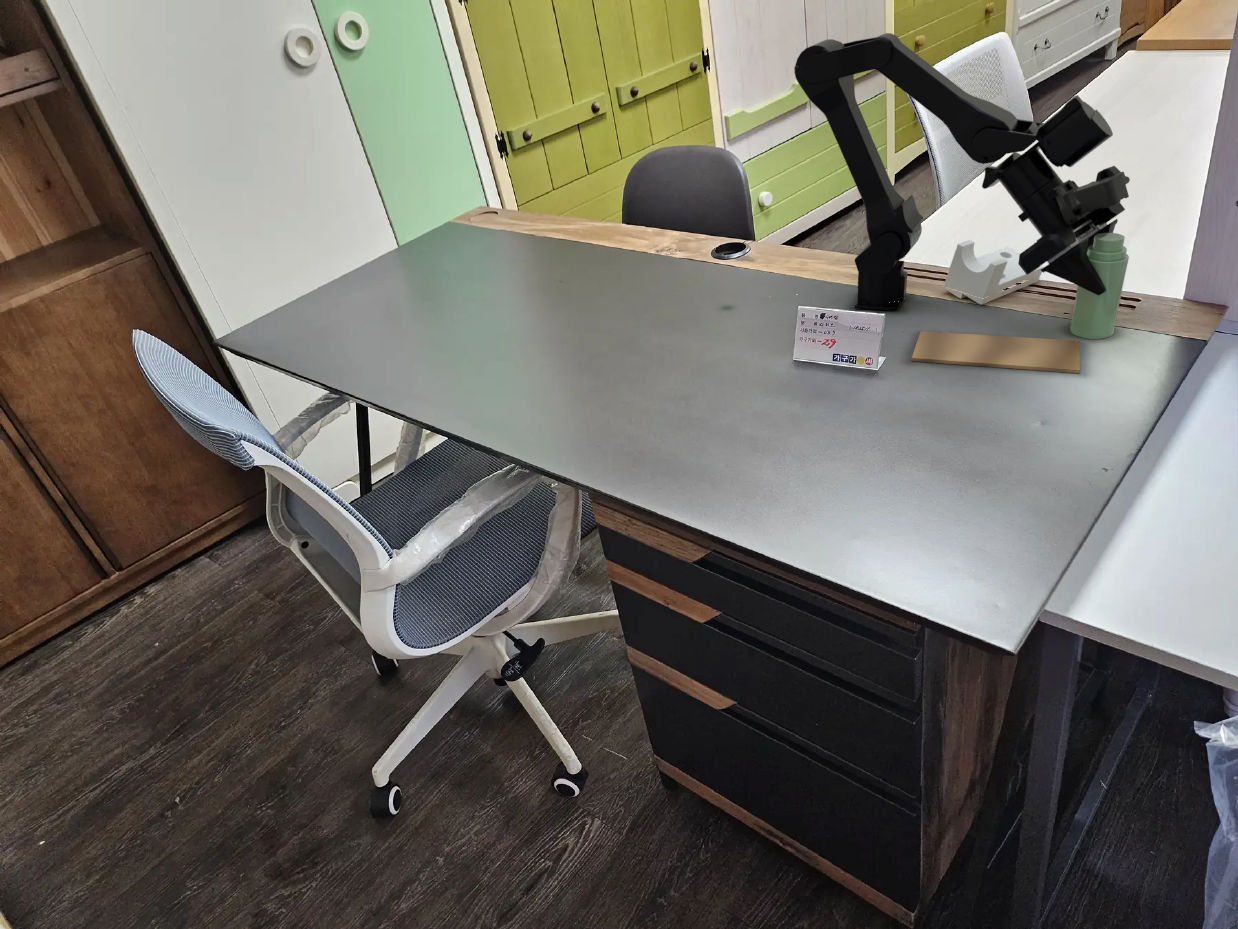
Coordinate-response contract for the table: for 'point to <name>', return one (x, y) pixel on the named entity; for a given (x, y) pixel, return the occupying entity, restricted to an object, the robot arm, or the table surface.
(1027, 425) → the table surface
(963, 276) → the bracket
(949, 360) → the cork pad
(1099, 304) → the bottle
